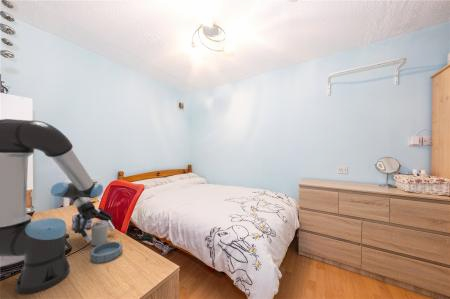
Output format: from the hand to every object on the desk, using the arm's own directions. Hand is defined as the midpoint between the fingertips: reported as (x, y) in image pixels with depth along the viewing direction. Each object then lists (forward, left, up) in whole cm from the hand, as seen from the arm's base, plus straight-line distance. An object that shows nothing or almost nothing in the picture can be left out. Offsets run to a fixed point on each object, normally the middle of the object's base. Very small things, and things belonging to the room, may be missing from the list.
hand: (102, 235), depth 98 cm
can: (+1, +2, -5) cm, 5 cm away
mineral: (+24, +22, -5) cm, 33 cm away
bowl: (-12, -7, -5) cm, 15 cm away
